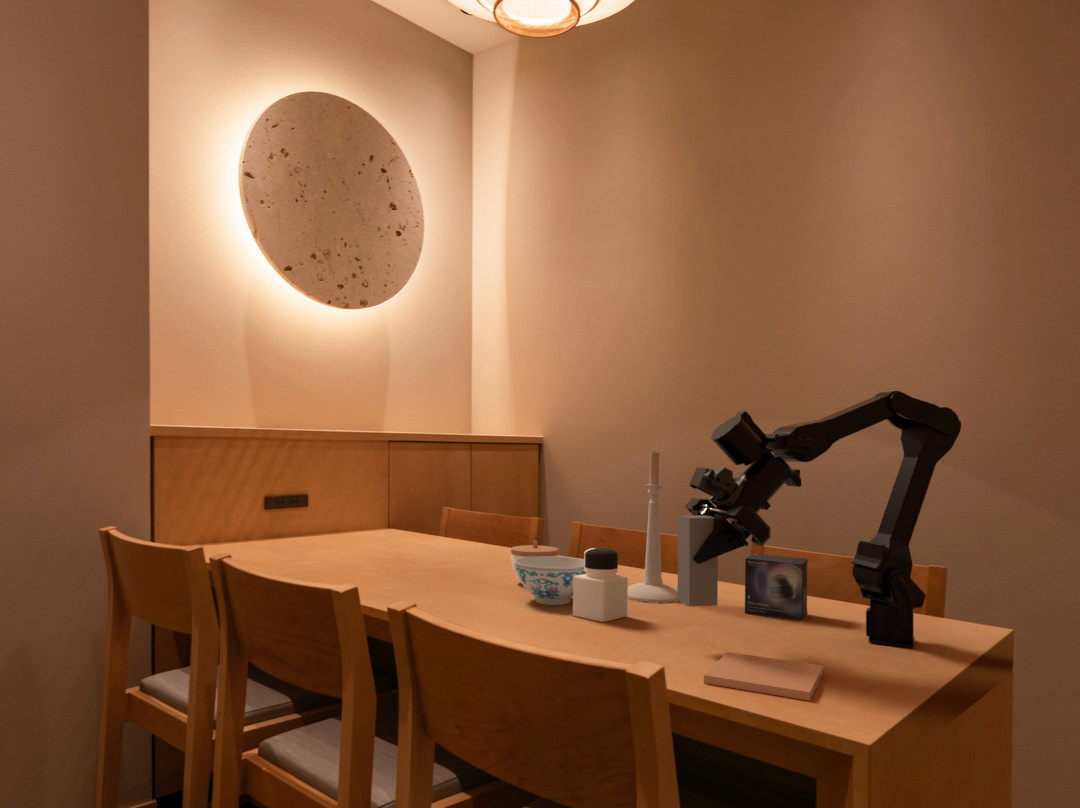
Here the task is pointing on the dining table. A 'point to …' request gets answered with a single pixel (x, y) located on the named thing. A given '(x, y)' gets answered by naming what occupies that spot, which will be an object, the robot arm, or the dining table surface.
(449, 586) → the dining table surface
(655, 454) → the candlestick
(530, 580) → the chinaware
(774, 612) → the small box
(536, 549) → the lidded jar
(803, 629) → the dining table surface
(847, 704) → the dining table surface
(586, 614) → the medicine bottle
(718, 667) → the terracotta tile
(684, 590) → the grey block
